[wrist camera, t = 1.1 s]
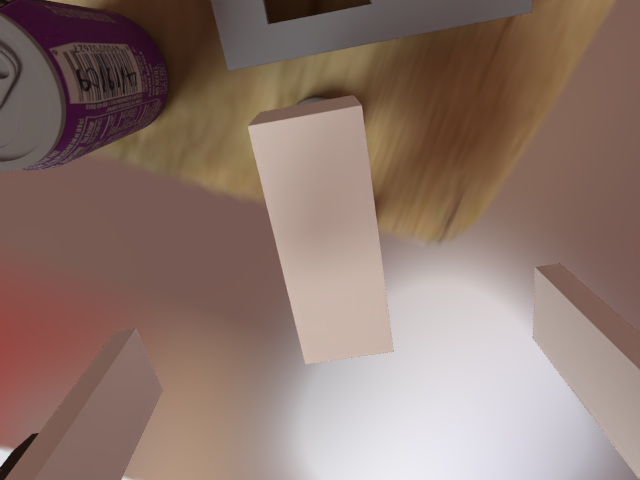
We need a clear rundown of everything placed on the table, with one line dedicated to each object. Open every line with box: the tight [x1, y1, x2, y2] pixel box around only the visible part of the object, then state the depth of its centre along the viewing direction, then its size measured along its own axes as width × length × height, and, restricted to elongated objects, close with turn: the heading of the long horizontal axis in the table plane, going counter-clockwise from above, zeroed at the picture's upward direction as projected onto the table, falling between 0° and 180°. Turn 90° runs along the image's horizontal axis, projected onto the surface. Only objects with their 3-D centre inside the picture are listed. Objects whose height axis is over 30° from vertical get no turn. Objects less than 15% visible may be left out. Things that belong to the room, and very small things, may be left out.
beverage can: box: [0, 0, 168, 171], centre depth 21 cm, size 7×7×12 cm
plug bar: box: [248, 95, 394, 364], centre depth 24 cm, size 12×4×12 cm, turn 10°
